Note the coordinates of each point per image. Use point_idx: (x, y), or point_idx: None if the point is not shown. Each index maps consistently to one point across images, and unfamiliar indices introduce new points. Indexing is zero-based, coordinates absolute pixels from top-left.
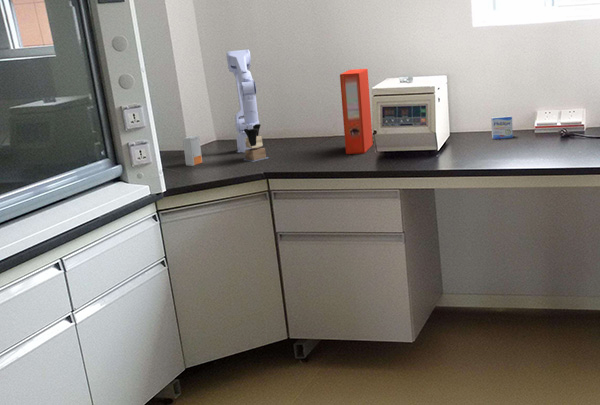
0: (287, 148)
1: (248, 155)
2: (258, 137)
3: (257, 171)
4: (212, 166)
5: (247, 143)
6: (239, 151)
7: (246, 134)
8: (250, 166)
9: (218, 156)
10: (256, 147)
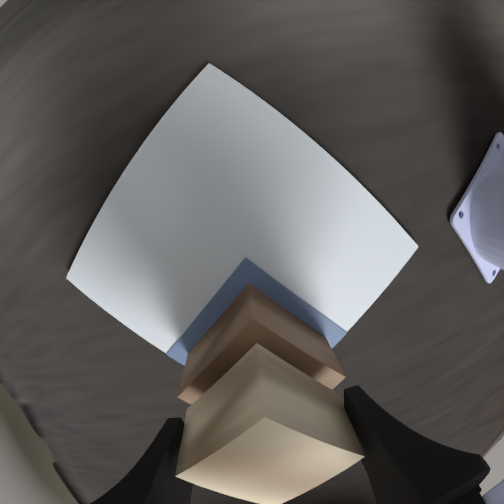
0: (479, 369)
1: (221, 328)
2: (246, 497)
3: (27, 386)
4: (119, 74)
5: (230, 394)
6: (501, 150)
7: (100, 497)
8: (91, 348)
9: (439, 36)
10: (334, 378)
